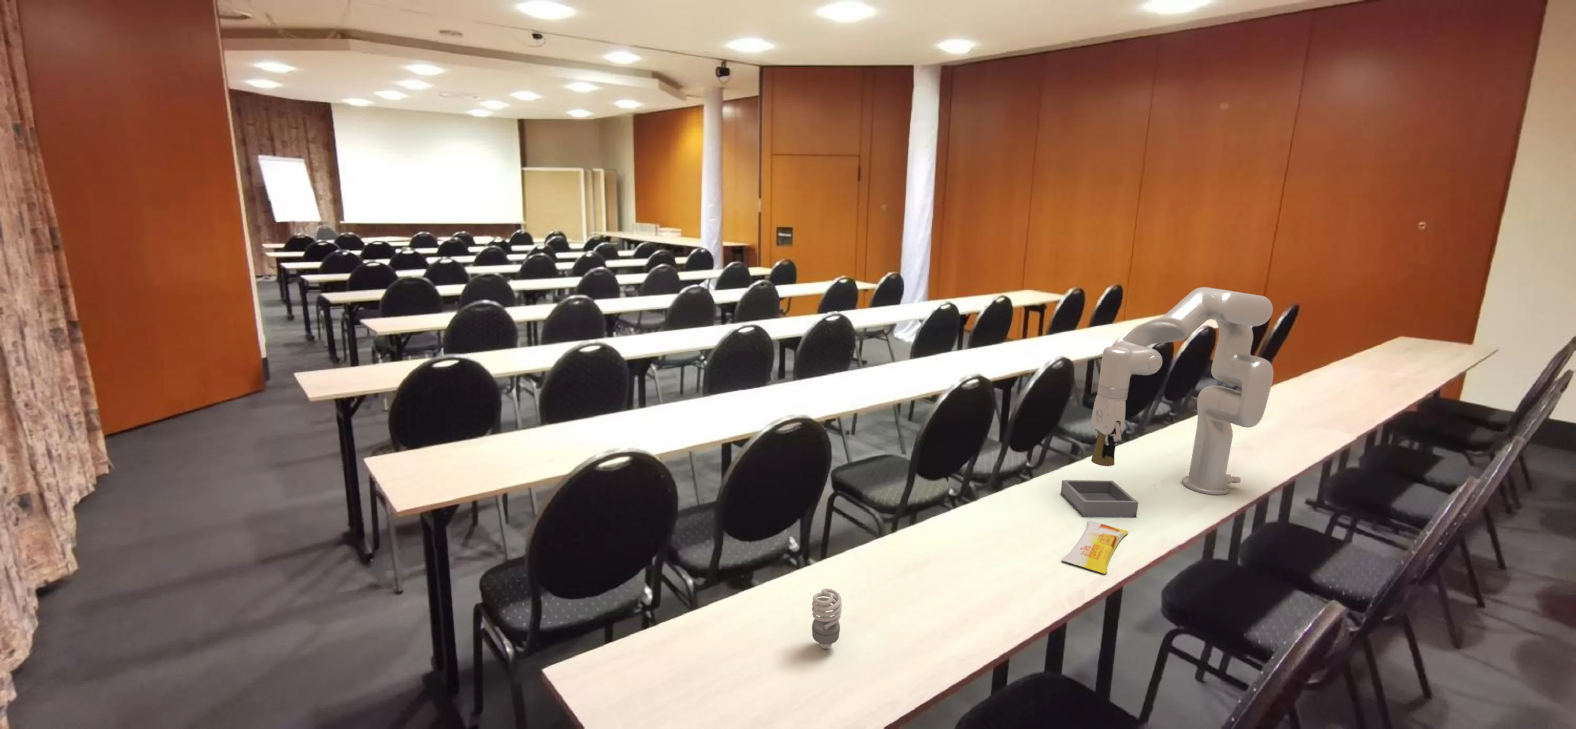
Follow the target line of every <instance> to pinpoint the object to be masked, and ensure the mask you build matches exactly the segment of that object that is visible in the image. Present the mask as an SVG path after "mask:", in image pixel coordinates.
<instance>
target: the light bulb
mask: <svg viewBox="0 0 1576 729" xmlns="http://www.w3.org/2000/svg"><path fill="white" fill-rule="evenodd" d="M811 605H812V607H811V611H812V617H813V618H814V620H813V621H812V624H811V636H812V638H813V640H814V641H815V642H817V643H818V646H819V647H820V648H822V649H829V648H831V647H832V645H833V644H834V643H836V642H837V641H839V638H840V631H841V630H840V629H841V624H840V622H839V620H840V619H841V614H842V607H843V606H842V605H843V604H842V597H841V594H839V592H838V591H836V589H835V590H834V589H833V588H823V589H822V590H821V592H817V593H815V594H813V597H812V602H811Z"/></svg>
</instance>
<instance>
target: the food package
mask: <svg viewBox="0 0 1576 729" xmlns="http://www.w3.org/2000/svg"><path fill="white" fill-rule="evenodd" d="M1086 523H1087V525H1086V527H1085V530H1084V531H1083V533H1082V535H1081V537H1080V538H1079V540H1078V541H1077V542H1076V544H1075V545H1074V547H1073V548H1072V549H1071V550H1070V552H1068V553H1067V554H1066V555H1064V556H1063V557H1062V558H1061V561H1062V562H1065V563H1069V564H1072V565H1075V566H1078V567H1082V568H1084V569H1087V570H1091V571H1093V572H1097V573H1101V574H1106V573H1107V572H1108V564H1109V562H1110V559H1111V557H1112V555H1113V553H1114V551H1115V550H1116V548H1117V546H1118V544H1119V543H1120V542H1121V540H1122V539H1123V537H1125V536H1126V535H1127V534H1129V531H1128V530H1126V529H1123V528H1118V527H1115V526H1111V525H1108V524H1105V523H1101V522H1096V521H1093V520H1090V519H1089V520H1088V521H1087V522H1086Z"/></svg>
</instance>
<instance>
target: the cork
mask: <svg viewBox="0 0 1576 729" xmlns="http://www.w3.org/2000/svg"><path fill="white" fill-rule="evenodd" d="M1097 433H1098V438H1097V442H1096V445H1095V444H1094V448H1095V449H1093V452H1092V456H1091V458H1090V459H1091V460H1090V461H1091V462H1092V464H1095V465H1098V466H1101V467H1114V466H1115V457H1114V458H1113V459H1112V457H1108V456H1107V455H1106V456H1105V458H1102V451H1103V444H1105V436H1106V435H1104V434H1102V433H1101V432H1099V431H1098V430H1097ZM1111 434H1114V432H1112V433H1111ZM1113 437H1114V436H1109V439H1110V438H1113Z"/></svg>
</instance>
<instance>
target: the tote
mask: <svg viewBox="0 0 1576 729" xmlns="http://www.w3.org/2000/svg"><path fill="white" fill-rule="evenodd" d="M1060 496H1061V497H1062V498H1064V500H1065V501H1066V502H1067V503H1068V504H1069V505H1070V506H1071V507H1072V508H1073V509H1074V510H1075V511H1076V512H1077V513H1078V514H1079V515H1080V516H1081V517H1082V518H1132V519H1133V518H1137V515H1138V509H1139V501H1138V500H1137V499H1135V498H1134V497H1133V496H1131V495H1130V494H1129V493H1128V492H1127V491H1126V490H1124V489H1123V488H1122V487H1121V486H1119V485H1118V484H1117V483H1116V482H1115V481H1114V480H1092V479H1090V480H1086V479H1085V480H1082V479H1081V480H1080V479H1079V480H1078V479H1077V480H1076V479H1070V480H1069V479H1062V480H1061V486H1060Z"/></svg>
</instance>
